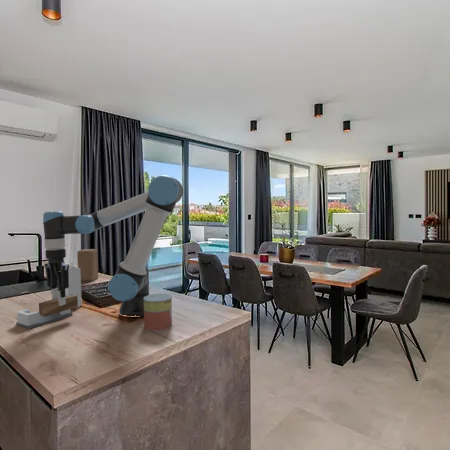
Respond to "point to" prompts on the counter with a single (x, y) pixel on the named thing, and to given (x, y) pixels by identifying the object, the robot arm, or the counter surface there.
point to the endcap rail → (38, 318)
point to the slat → (57, 305)
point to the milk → (74, 283)
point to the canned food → (157, 312)
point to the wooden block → (88, 264)
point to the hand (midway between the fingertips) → (59, 304)
